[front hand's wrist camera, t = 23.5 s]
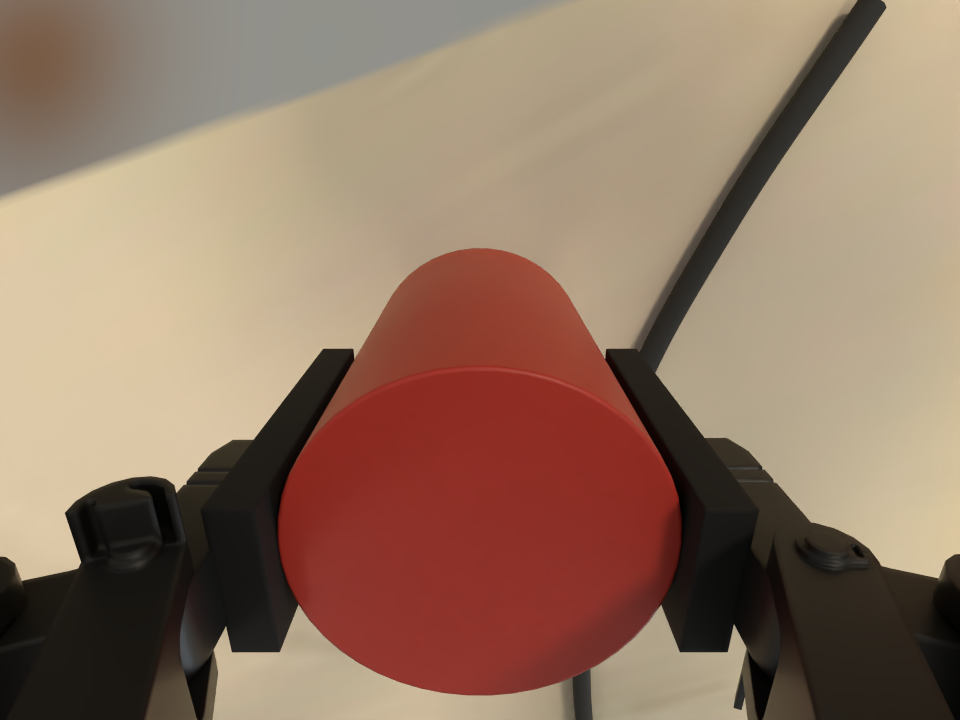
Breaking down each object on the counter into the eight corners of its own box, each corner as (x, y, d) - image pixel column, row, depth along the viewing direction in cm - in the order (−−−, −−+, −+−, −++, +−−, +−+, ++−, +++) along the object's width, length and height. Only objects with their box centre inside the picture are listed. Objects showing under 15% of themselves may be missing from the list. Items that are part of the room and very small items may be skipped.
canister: (421, 460, 19) (370, 730, 10) (346, 286, 16) (200, 442, 8) (602, 407, 18) (716, 649, 9) (549, 218, 16) (634, 306, 7)
